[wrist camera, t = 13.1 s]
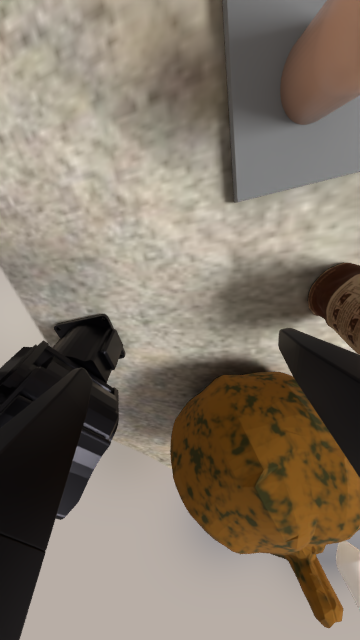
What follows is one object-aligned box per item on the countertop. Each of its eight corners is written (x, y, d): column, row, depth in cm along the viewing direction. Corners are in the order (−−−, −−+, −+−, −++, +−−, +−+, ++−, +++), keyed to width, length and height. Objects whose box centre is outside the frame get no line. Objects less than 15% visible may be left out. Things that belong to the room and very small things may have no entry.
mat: (234, 202, 17) (237, 202, 16) (219, -41, 11) (223, -63, 10) (365, 169, 16) (376, 167, 15) (429, -115, 10) (453, -146, 9)
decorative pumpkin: (166, 350, 24) (198, 704, 7) (316, 342, 26) (594, 590, 10) (166, 432, 35) (179, 648, 18) (272, 421, 37) (368, 601, 21)
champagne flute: (309, 480, 48) (413, 684, 27) (332, 481, 49) (449, 680, 28) (296, 490, 51) (379, 680, 31) (318, 491, 52) (413, 676, 32)
